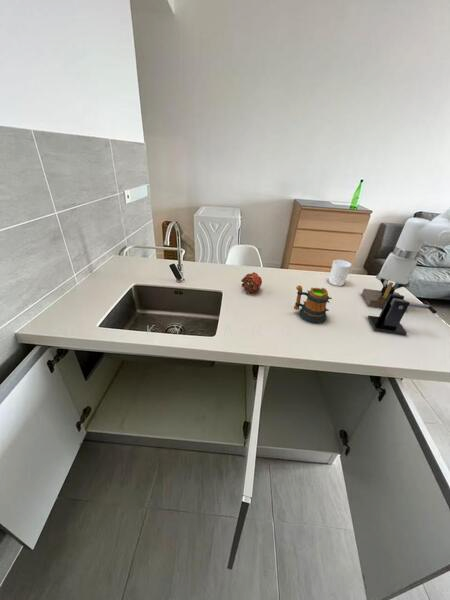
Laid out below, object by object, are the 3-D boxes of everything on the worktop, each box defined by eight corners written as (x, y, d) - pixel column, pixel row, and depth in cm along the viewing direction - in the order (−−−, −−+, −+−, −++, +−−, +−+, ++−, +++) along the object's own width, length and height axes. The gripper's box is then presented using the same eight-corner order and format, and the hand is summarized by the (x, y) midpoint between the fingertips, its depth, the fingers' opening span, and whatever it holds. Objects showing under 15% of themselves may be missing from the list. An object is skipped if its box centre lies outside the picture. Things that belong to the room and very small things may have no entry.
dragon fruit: (249, 300, 101) (248, 290, 112) (267, 290, 98) (264, 281, 109) (238, 284, 98) (238, 275, 109) (256, 273, 96) (255, 265, 107)
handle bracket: (395, 322, 90) (410, 294, 84) (405, 335, 83) (421, 306, 77) (367, 317, 91) (379, 290, 85) (374, 331, 84) (387, 302, 78)
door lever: (425, 305, 83) (428, 299, 82) (434, 315, 78) (438, 309, 77) (387, 300, 85) (390, 294, 84) (394, 310, 80) (397, 303, 79)
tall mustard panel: (384, 293, 102) (389, 281, 99) (388, 294, 101) (393, 282, 98) (382, 297, 99) (388, 285, 96) (386, 299, 98) (392, 286, 95)
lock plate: (395, 298, 105) (398, 292, 103) (405, 311, 96) (409, 304, 95) (361, 294, 107) (363, 288, 105) (368, 306, 98) (371, 299, 97)
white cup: (347, 286, 112) (354, 266, 107) (331, 286, 112) (337, 266, 107) (340, 279, 119) (347, 260, 114) (324, 278, 119) (330, 259, 113)
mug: (325, 311, 94) (333, 284, 88) (327, 326, 85) (337, 298, 79) (291, 305, 96) (296, 279, 90) (290, 319, 88) (296, 291, 82)
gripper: (431, 256, 89) (408, 299, 98) (383, 245, 97) (367, 286, 106) (430, 261, 84) (406, 306, 93) (379, 250, 92) (363, 292, 101)
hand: (385, 295), depth 100 cm, fingers closed
